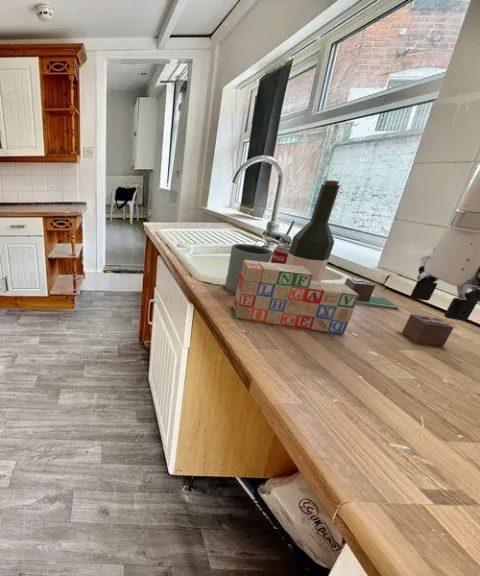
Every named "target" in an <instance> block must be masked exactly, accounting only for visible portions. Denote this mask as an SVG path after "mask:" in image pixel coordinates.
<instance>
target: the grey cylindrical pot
mask: <svg viewBox="0 0 480 576" xmlns="http://www.w3.org/2000/svg"><path fill="white" fill-rule="evenodd" d="M272 254H273V251H272V250H271V249H269V248H267V247H264V246H261V245H260V246H259V245H254V244H248V243H235V244H232V245H231V249H230V256H229V261H228V263H229V264H228V267H227V275H226V278H225V283H224V288H225V289H226V290H228V291H229V292H231V293H234V294H236V292H237V287H238V281H239V277H240V273H241V271H242V267H243V262H244V260H251V261H258V262H268V263H270V262H271V258H272Z"/></svg>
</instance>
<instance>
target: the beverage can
mask: <svg viewBox="0 0 480 576" xmlns="http://www.w3.org/2000/svg"><path fill="white" fill-rule="evenodd" d="M290 247H291V245H290V246H289V245H277V246H276V247H275V248H274V249H273V251H272V252H273V254H272V257H271V259H270V262H269V263H279V264H286V260H287V257H288V254H289V250H290Z"/></svg>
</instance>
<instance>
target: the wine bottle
mask: <svg viewBox="0 0 480 576" xmlns="http://www.w3.org/2000/svg"><path fill="white" fill-rule="evenodd" d="M339 182H340V181H339V180H325V181H324V184H323V183H321V186H320V188H319V192H318V196H317V199H316V201H315V202H316V203H315V205H314V209H313V212H312V215H311V218H310V220H309V222H307V223H306V224H305V225H304V226H303V227H302V228H301V229H299V231H298V232H297V233H296V234H294V235H293V237H292V240H291V244H290V250H289V254H288V257H287V260H286V264H287V265H296V266H303V267H304V268H305V269H306V270H308V271H309V272H310V273H311V274H312V275H313V276H312V279H311V280H312V281H319V282H322V279H323V276H324V273H325V271H326V267H327V264H328V262H329V258H330V256H331V253H332V250H333V248H334V245H335V239H334V237H333V233H332V230H331V228H330V225H329V220H330V217H331V215H332V211H333V208H334V205H335V202H336V199H337V196H338V193H339V190H340V187H341V185H340V184H339Z"/></svg>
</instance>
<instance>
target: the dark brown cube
mask: <svg viewBox="0 0 480 576" xmlns="http://www.w3.org/2000/svg"><path fill="white" fill-rule="evenodd" d="M343 285H346V286H348V287H349V288H350V289H351V290H353V291H354V292H356V293H357V294H358V295H359V296H358V299H357V300H362V301H369V300H370V297H371V296H373V292H374V290H375V288H376V284H374V283H372V282H371V281H370V280H368V279H363V278H356V277H355V278H354V277H346V279H345V282H344V284H343Z"/></svg>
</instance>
